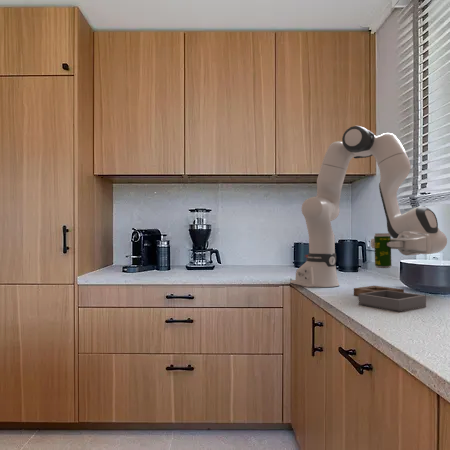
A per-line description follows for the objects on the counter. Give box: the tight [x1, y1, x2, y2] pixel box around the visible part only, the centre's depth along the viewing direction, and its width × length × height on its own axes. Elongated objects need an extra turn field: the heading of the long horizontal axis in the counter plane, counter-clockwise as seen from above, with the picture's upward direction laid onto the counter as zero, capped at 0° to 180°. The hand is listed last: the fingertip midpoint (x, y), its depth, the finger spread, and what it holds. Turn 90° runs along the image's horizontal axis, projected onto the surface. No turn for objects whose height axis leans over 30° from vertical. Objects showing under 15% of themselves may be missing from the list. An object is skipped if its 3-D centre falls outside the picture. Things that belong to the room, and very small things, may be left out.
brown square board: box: [353, 285, 405, 297], centre depth 137 cm, size 12×12×2 cm
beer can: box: [373, 232, 392, 269], centre depth 131 cm, size 5×5×12 cm
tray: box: [358, 290, 427, 313], centre depth 118 cm, size 14×14×4 cm
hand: (380, 244), depth 131 cm, fingers closed on beer can, 5 cm apart
